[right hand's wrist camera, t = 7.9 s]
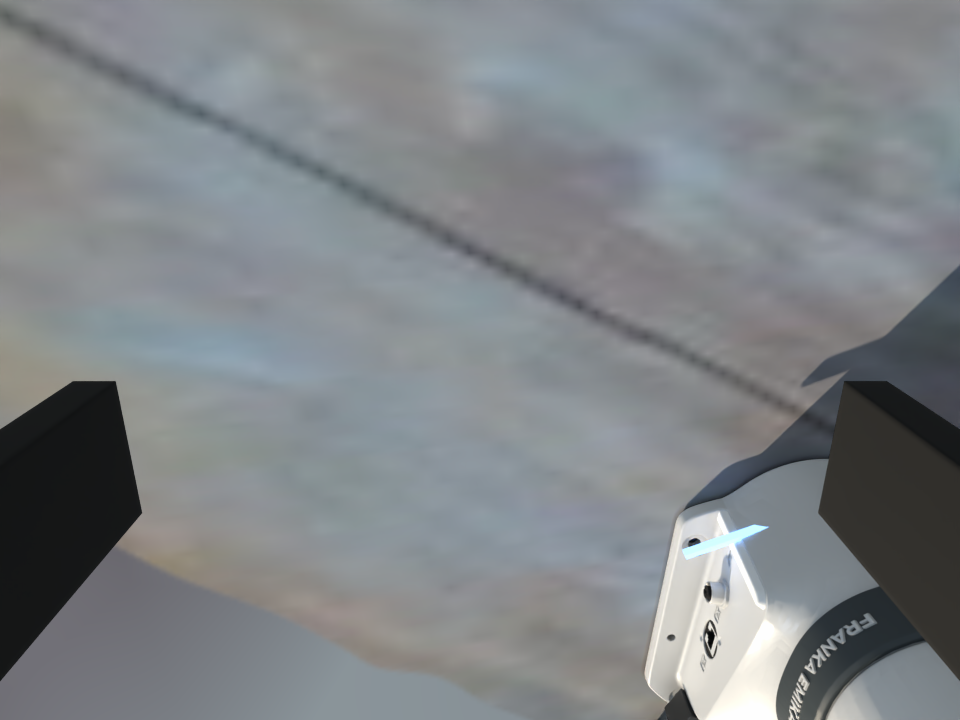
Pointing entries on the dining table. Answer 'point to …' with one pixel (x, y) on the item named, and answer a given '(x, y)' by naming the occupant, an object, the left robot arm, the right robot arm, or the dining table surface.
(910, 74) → the dining table surface
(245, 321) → the dining table surface
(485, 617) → the dining table surface
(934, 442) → the right robot arm
